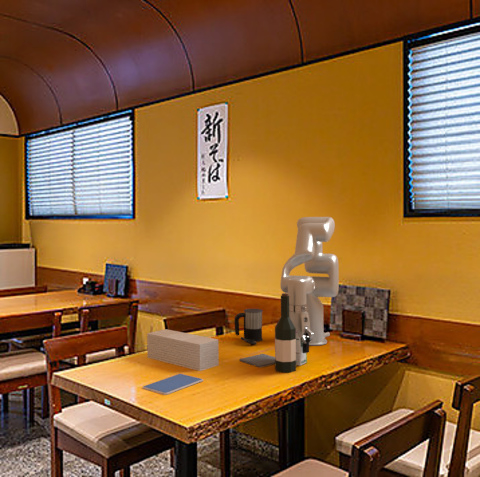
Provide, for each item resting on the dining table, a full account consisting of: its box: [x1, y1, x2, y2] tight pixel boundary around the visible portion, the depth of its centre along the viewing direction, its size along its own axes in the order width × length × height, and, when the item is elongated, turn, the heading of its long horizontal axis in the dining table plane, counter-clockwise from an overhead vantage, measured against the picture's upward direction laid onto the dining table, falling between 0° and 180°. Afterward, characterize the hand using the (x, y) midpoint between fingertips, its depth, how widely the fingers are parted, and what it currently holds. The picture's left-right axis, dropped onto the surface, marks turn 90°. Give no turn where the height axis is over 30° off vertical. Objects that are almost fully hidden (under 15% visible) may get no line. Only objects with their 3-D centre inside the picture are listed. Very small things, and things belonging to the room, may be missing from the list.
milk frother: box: [234, 308, 263, 346], centre depth 250 cm, size 14×16×15 cm
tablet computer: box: [142, 373, 204, 396], centre depth 187 cm, size 19×13×1 cm, turn 141°
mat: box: [239, 353, 275, 368], centre depth 216 cm, size 13×13×1 cm
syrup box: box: [296, 331, 308, 367], centre depth 212 cm, size 6×6×14 cm
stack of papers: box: [146, 329, 220, 372], centre depth 217 cm, size 32×11×11 cm, turn 49°
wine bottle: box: [274, 292, 297, 374], centre depth 203 cm, size 8×8×30 cm
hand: (297, 350), depth 212 cm, fingers open, 9 cm apart
